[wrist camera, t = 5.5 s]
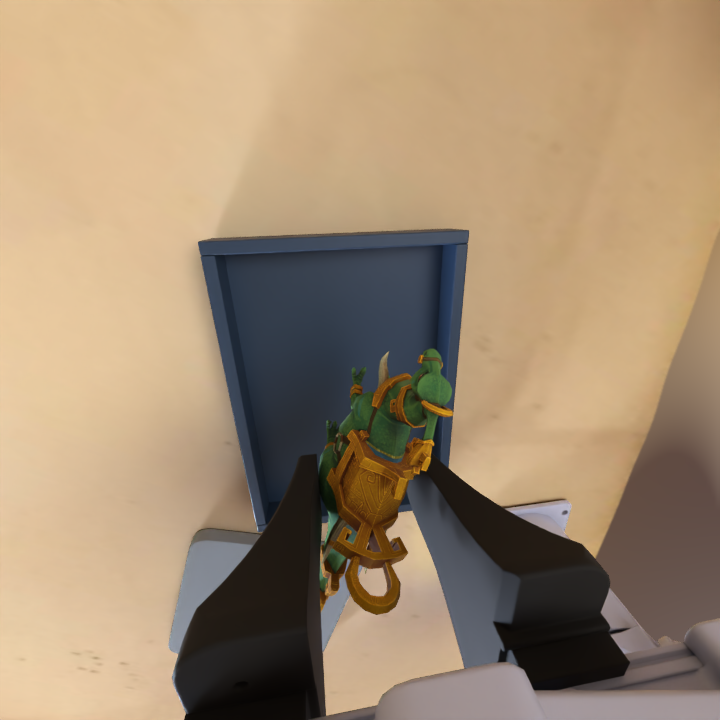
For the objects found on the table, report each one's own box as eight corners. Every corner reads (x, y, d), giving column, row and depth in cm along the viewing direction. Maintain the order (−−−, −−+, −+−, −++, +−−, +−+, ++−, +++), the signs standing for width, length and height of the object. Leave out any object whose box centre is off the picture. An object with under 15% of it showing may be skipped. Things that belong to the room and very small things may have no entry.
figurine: (432, 325, 15) (553, 432, 7) (336, 524, 19) (353, 729, 11) (368, 301, 14) (431, 393, 7) (281, 514, 18) (260, 727, 10)
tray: (433, 481, 25) (445, 506, 23) (262, 504, 23) (257, 532, 21) (450, 228, 18) (469, 230, 16) (211, 238, 17) (197, 241, 15)
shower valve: (136, 755, 23) (165, 611, 18) (166, 659, 28) (195, 526, 23) (313, 748, 26) (378, 623, 21) (312, 663, 31) (365, 546, 26)
